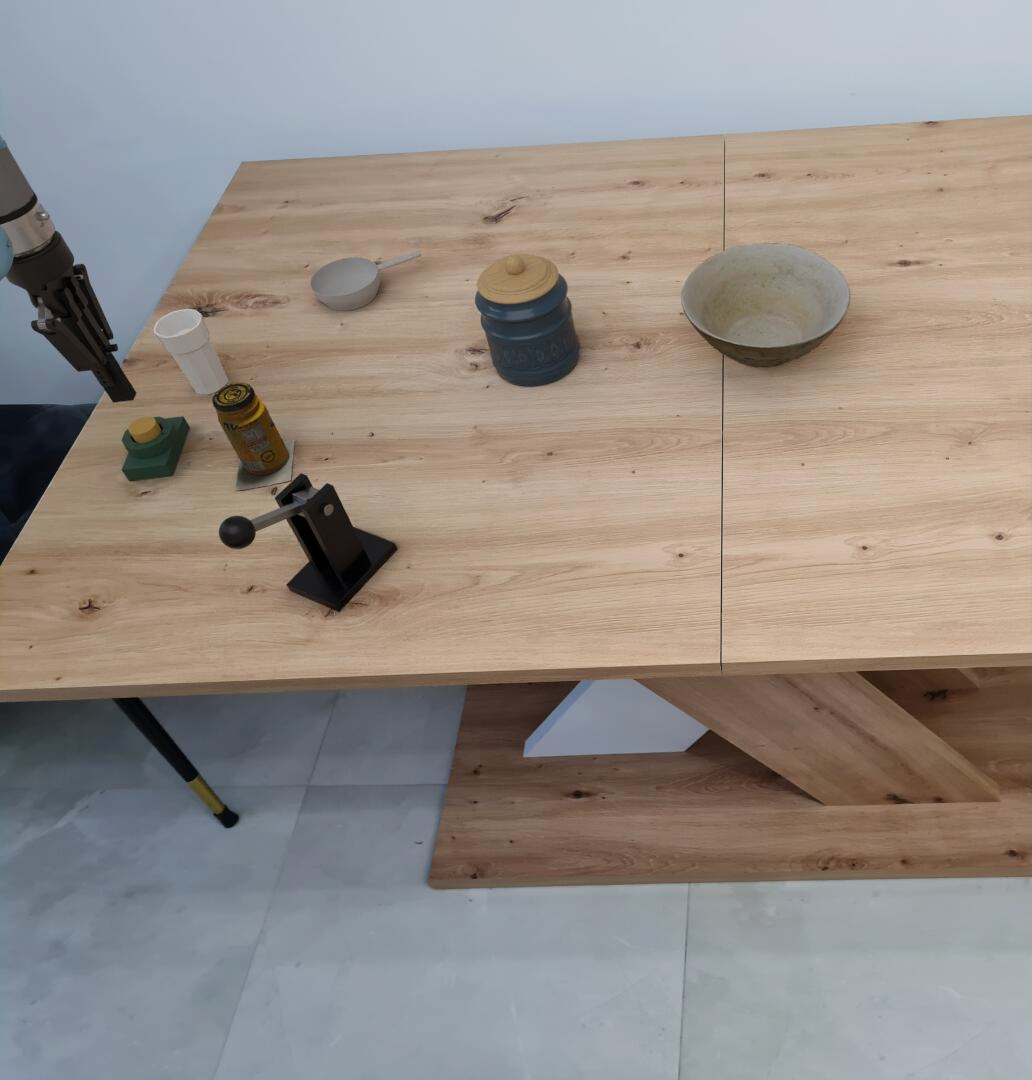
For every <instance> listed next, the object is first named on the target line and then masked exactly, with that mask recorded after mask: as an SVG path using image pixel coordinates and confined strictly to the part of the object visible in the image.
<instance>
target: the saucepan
mask: <svg viewBox="0 0 1032 1080" xmlns="http://www.w3.org/2000/svg"><path fill="white" fill-rule="evenodd" d="M422 255H423V254H422V252H421V251H420V250H417V251H414V252H411V253H408V254H405V255H403V256H401V257H397V258H394V259H391V260H389V261H386V262H383V263H380V264H376V263H375V262H374V261H373V260H371V259H369V258H366V257H360V256H354V257H352V256H351V257H343V258H340V259H339V258H338V259H336V260H333V261H331V262H328V263H325V264H324V265H323V266H321V267H319V269H317V270H316V271H315V272H314V273H313V275H312V276H311V278H310V280H309V286H310V288H311V291H312V292H313V294H314V296H315V297H316V298H317V300H319V301H320V302H321V303H322V304H324V305H326V306H327V307H328V308H329V309H332V310H336V311H351V310H355V309H358V308H361V307H364V306H366V305H367V304H369V303H370V302H372V301H373V300H374V299H375V298H376V296H377V294H378V290H379V288H380V285H381V275H380V272H381V271H383V270H386V269H389V268H392V267H395V266H397V265H400V264H404V263H406V262H409V261H412V260H415V259H417V258H420V257H421V256H422Z"/></svg>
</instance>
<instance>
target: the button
mask: <svg viewBox="0 0 1032 1080" xmlns="http://www.w3.org/2000/svg"><path fill="white" fill-rule="evenodd" d="M153 417H154V416H143V417H142V416H141V417H139V418H137V419H135V420H134V421H132V422H131V423H130V424H129V426H128V428H129V432H130V434H131V435H132V437H133V438H134V440H135V441H136V442H137V443H146V442H149V441H151V440H154V439H155V438H157V437H158V436H159V435H160V434H161V428H160V426H159V425H158V423H157V422H156V420H155V419H154V418H153Z"/></svg>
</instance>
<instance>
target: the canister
mask: <svg viewBox="0 0 1032 1080" xmlns="http://www.w3.org/2000/svg"><path fill="white" fill-rule="evenodd" d="M476 287H477V291H476V293H475V294H474V295H475V296H474V304H475V307H476V308H477V311H478V312H479V313H480V318H479V319H480V325H481V328H482V329H483V331H484V333H485V337H486V341H487V344H488V348H489V351H490V352H489V353H490V359H491V363H492V365H493V368H494V369H495V370H496V372H497V373H498V376H500V377H501V378H502V380H505V381H506V382H508V383H510V384H514V385H518V386H523V387H524V386H525V387H529V386H530V387H534V386H541V385H542V386H543V385H547V384H550V383H553V382H554V381H557V380H560V379H561V378H564V377H565V376H566V375H568V374H569V373H570V372H572V370H573V369H574V368H575V367H576V366H577V364H578V362H579V359H580V349H581V347H580V346H581V345H580V339H579V336H578V334H577V332H576V326H575V322H574V321H575V320H574V317H573V311H572V310H573V304H572V301H571V299H570V297H568V295H567V294H568V291H569V290H568V289H569V288H568V287H569V286H568V282H567V281H566V278H565V277H564V276H563V275H562V274H561V273H559V269H558V267H557V266H556V264H555V263H554V262H553V261H551V260H550V259H548V258H546V257H543V256H539V255H534V254H530V253H516V254H515V253H514V254H509V255H506V256H504V257H501V258H499V259H497V260H495V261H494V262H493V263H491V264H490V265H488V266H487V267H486V268H485V269H484V270H482V271H481V273H480V274H479V276H478V278H477V282H476Z"/></svg>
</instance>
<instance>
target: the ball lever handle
mask: <svg viewBox="0 0 1032 1080" xmlns="http://www.w3.org/2000/svg"><path fill="white" fill-rule="evenodd" d="M319 490H320V489H318V488H316V487H314V486H313V487H309V488H307V489H304V490H302V491H299V492H297V493H294V494H293V503H291V504H288V505H286V506H283V507H281V508H280V507H279V508H276V509H274V510H272V511H269V512H265V513H264V514H262V515H258V516H257V517H255V518H251V519H249V518H247V517H245V516H242V515H232V516H229V517H227V518H225V519H223V521H222V522H221V523H220V525H219V527H218V537H219V540H220V542H221V543H222V544H223V545H224V546H226V547H227V548H230V549H232V550H242V549H245V548H248V547H249V546H250V545H251V544H253V542H254V540H255V538H256V534H257V533H256V532H259V531H262V530H264V529H266V528H268V527H271V526H273V525H275V524H277V523H280V522H282V521H285V520H286V519H287V518H290V517H292V516H294V515H297V514H298V515H300V516H303V517H305V516H304V514H303V512H302V510H301V507H302V506H303V505H304V504H305V503H307V502H308V501H309V500H310V499H311V498H312V497H313V496H314V495H315V494H316V493H317V492H318V491H319Z"/></svg>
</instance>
